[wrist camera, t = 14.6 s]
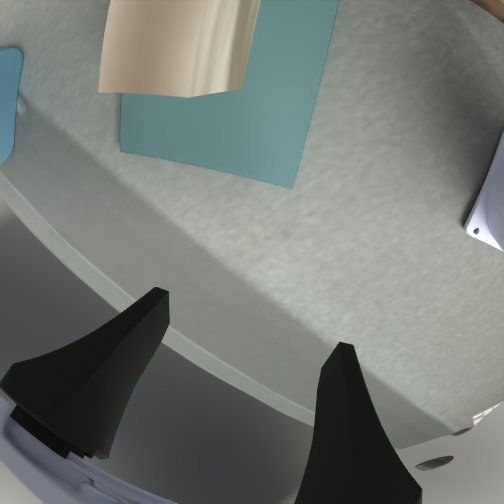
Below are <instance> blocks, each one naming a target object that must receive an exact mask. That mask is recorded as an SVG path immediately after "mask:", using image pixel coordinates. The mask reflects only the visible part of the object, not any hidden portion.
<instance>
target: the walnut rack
mask: <svg viewBox="0 0 504 504" xmlns="http://www.w3.org/2000/svg"><path fill="white" fill-rule="evenodd" d="M471 1H472V2H474V3H476V4H477V5H479V6H480V7H482V8H483V9H485V10H486V11H488V12H489V13H491V14H492V15H494V16H495V17H496V18H498V19H499V20H500V21H502V22H503V23H504V0H471Z"/></svg>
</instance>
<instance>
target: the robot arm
mask: <svg viewBox="0 0 504 504" xmlns="http://www.w3.org/2000/svg"><path fill="white" fill-rule="evenodd" d="M475 228H477V230H476V231H475V232H474V229H475ZM464 230H465V232H466V233H467V234H468V235H470V236H472V237H474V238H477V239H479V240H481V241H483V242H485V243H487V244H489V245H491V246H493V247H495V248H497V249H499V250H501V251H503V252H504V131H503V133H502V136H501V139H500V142H499V145H498V148H497V151H496V154H495V156H494V159H493V162H492V164H491V167H490V170H489V172H488V175H487V177H486V180H485V182H484V184H483V187H482V189H481V191H480V194H479V196H478V198H477V200H476V202H475V205H474V207H473V209H472V211H471V213H470V215H469V217H468V219H467V221H466V223H465V226H464ZM169 323H170V316H169V291H166V290H164V289H161V288H158V287H154V288H153V289H152V290H150V291H149V292H148V293H147V294H145V295H144V296H143V297H141V298H140V299H139V300H138V301H136V302H135V303H134V304H132V305H131V306H130V307H128V308H127V309H126V310H124V311H123V312H121V313H120V314H119V315H118V316H116V317H115V318H113V319H112V320H110V321H109V322H107V323H106V324H104V325H103V326H101V327H100V328H98V329H96V330H95V331H93V332H91V333H90V334H88V335H86V336H84V337H82V338H81V339H79V340H77V341H75V342H73V343H71V344H69V345H67V346H64V347H62V348H60V349H58V350H55V351H52V352H50V353H47V354H45V355H42V356H39V357H36V358H33V359H29V360H26V361H22V362H18V363H14V364H13V365H12V366H11V367H10V369H9V370H8V372H7V373H6V374H5V376H4V377H3V379H2V380H1V382H0V388H1V389H2V390H3V391H4V392H5V393H6V394H7V395H8V396H9V397H10V398H11V399H12V400H13V401H14V402H15V403H16V404H17V405H16V407H15V408H14V407H12V406H11V405H10V404H9V403H8V402H7V401H6V400H5V399H4V398H3V397H2V396H1V395H0V460H1V461H2V462H3V463H4V465H5V466H6V467H7V468H8V469H9V470H10V471H11V472H12V473H13V474H14V475H15V476H16V477H17V478H18V479H19V481H21V482H22V483H23V484H24V485H25V486H26V487H27V488H28V489H29V490H30V491H31V492H32V493H33V494H34V495H35V496H36V497H38V498H39V499H40V500H41V501H42V502H43V503H44V504H128V502H126V501H125V500H123V499H121V498H119V497H117V496H115V495H113V494H111V493H110V492H107V491H105V490H103V489H101V488H99V487H96V486H95V484H94V481H96V482H97V483H99V484H101V485H103V486H105V487H107V488H108V489H110V490H112V491H114V492H116V493H119V494H120V495H122V496H124V497H127V498H129V499H131V500H133V501H135V502H138V503H140V504H178V503H175V502H172V501H169V500H167V499H164V498H161V497H159V496H156V495H154V494H151V493H149V492H146V491H144V490H142V489H140V488H137V487H135V486H133V485H131V484H129V483H126V482H124V481H122V480H120V479H118V478H116V477H114V476H112V475H110V474H108V473H107V472H105V471H103V470H101V469H99V468H97V467H96V466H94V465H92V464H90V463H89V462H87V461H85V460H84V459H83V458H84V456H85V455H86V456H87V457H89V458H92V457H93V455H94V456H95V457H97V458H99V459H101V460H102V459H106V458H108V457H109V454H110V450H111V446H112V444H113V440H114V437H115V434H116V431H117V429H118V426H119V423H120V420H121V418H122V415H123V413H124V410H125V408H126V405H127V403H128V401H129V398H130V396H131V394H132V392H133V389H134V387H135V385H136V384H137V382H138V380H139V378H140V376H141V375H142V373H143V372H144V370H145V368H146V366H147V365H148V363H149V361H150V360H151V358H152V357H153V355H154V353H155V351H156V350H157V348H158V347H159V345H160V343H161V341H162V339H163V337H164V335H165V332H166V330H167V328H168V326H169ZM93 480H94V481H93ZM294 504H422V488H421V487H420V486H419V484H418V483H417V482H416V481H415V479H414V478H413V477H412V476H411V474H410V473H409V472H408V470H407V469H406V468H405V466H404V465H403V463H402V462H401V460H400V458H399V457H398V455H397V453H396V452H395V450H394V448H393V447H392V445H391V443H390V441H389V439H388V437H387V435H386V433H385V431H384V429H383V427H382V425H381V423H380V421H379V418H378V416H377V413H376V411H375V408H374V406H373V403H372V401H371V398H370V395H369V392H368V389H367V387H366V384H365V381H364V378H363V375H362V371H361V368H360V365H359V362H358V358H357V355H356V352H355V348H354V346H353V345H352V344H347V343H343V342H339V343H338V345H337V346H336V348H335V349H334V351H333V352H332V354H331V355H330V356H329V358H328V359H327V361H326V362H325V364H324V365H323V366H322V368H321V373H320V378H319V383H318V389H317V400H316V412H315V423H314V433H313V440H312V445H311V450H310V454H309V458H308V462H307V466H306V469H305V473H304V476H303V480H302V483H301V486H300V489H299V492H298V495H297V498H296V500H295V503H294Z"/></svg>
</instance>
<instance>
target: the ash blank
mask: <svg viewBox="0 0 504 504" xmlns="http://www.w3.org/2000/svg"><path fill="white" fill-rule="evenodd" d="M260 2H261V0H111V1H110V5H109V10H108V15H107V21H106V27H105V33H104V40H103V47H102V55H101V64H100V74H99V87H98V93H137V94H153V95H166V96H176V97H186V98H190V97H195V96H201V95H206V94H212V93H219V92H226V91H233V90H241V89H242V88H243V83H244V78H245V73H246V68H247V63H248V58H249V53H250V48H251V43H252V38H253V33H254V29H255V24H256V20H257V15H258V11H259V6H260Z"/></svg>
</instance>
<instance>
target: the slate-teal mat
mask: <svg viewBox="0 0 504 504" xmlns="http://www.w3.org/2000/svg"><path fill="white" fill-rule="evenodd" d="M338 1H339V0H261V2H260V6H259V11H258V15H257V20H256V24H255V29H254V33H253V38H252V43H251V48H250V53H249V58H248V63H247V68H246V73H245V78H244V83H243V88H242V89H241V90H233V91H226V92H219V93H212V94H206V95H201V96H195V97H190V98H186V97H176V96H166V95H153V94H137V93H122V105H121V124H120V152H126V153H132V154H138V155H143V156H149V157H154V158H160V159H165V160H170V161H175V162H180V163H185V164H190V165H195V166H199V167H204V168H208V169H213V170H217V171H222V172H226V173H230V174H234V175H238V176H243V177H247V178H251V179H255V180H258V181H262V182H266V183H270V184H274V185H277V186H281V187H285V188H288V189H293V185H294V182H295V178H296V174H297V170H298V167H299V163H300V159H301V155H302V151H303V147H304V144H305V140H306V136H307V132H308V128H309V124H310V120H311V116H312V112H313V108H314V104H315V100H316V96H317V92H318V88H319V84H320V79H321V75H322V71H323V67H324V63H325V59H326V54H327V50H328V46H329V41H330V37H331V33H332V28H333V24H334V19H335V15H336V10H337V6H338Z"/></svg>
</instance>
